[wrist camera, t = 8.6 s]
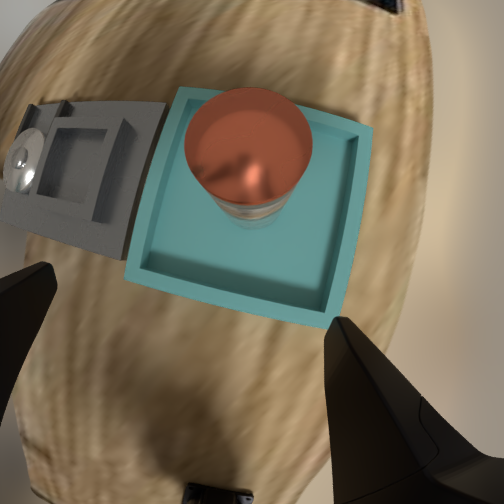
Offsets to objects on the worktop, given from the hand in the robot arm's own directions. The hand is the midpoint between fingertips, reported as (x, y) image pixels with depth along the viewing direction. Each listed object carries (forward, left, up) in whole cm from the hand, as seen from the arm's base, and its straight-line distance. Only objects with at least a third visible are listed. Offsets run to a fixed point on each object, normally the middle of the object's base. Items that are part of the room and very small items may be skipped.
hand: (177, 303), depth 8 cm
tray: (+5, -1, -11) cm, 12 cm away
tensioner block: (+5, +15, -11) cm, 19 cm away
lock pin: (+5, -1, -10) cm, 12 cm away
